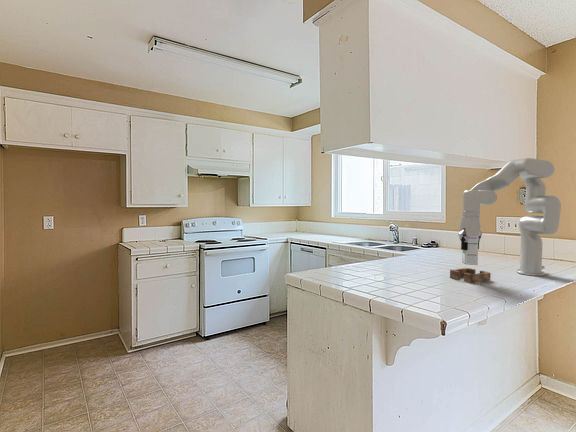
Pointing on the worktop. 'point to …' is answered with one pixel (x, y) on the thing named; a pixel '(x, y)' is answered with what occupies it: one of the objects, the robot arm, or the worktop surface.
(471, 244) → the syrup box
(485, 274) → the brown joined bars
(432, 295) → the worktop surface
